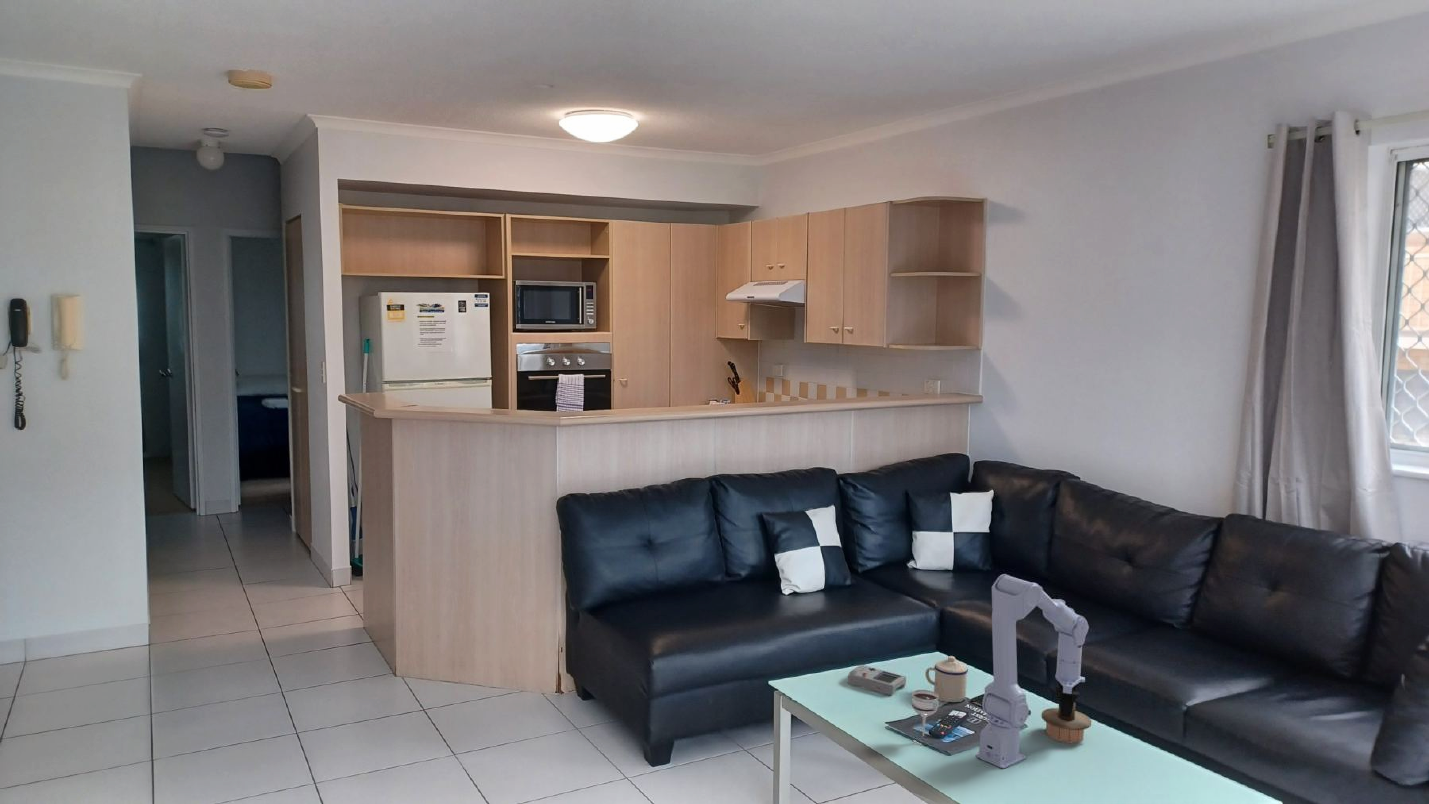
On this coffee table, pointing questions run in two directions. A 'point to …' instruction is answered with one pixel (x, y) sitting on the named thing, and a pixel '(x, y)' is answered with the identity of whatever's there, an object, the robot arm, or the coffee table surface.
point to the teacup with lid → (949, 679)
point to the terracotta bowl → (1064, 734)
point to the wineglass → (924, 704)
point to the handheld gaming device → (876, 679)
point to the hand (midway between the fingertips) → (1065, 710)
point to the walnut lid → (1066, 719)
